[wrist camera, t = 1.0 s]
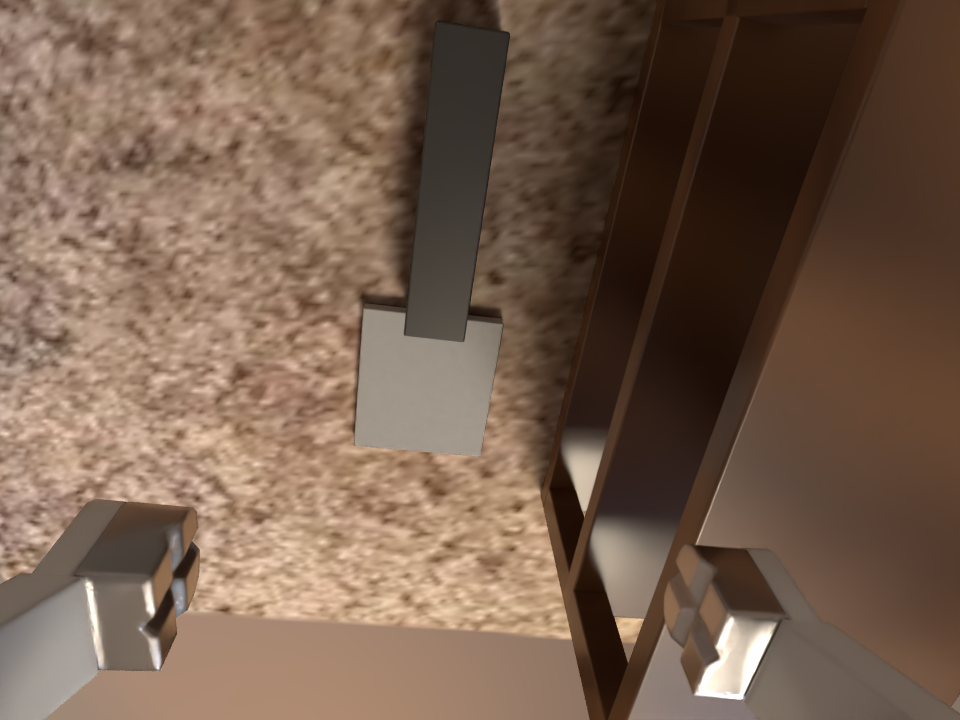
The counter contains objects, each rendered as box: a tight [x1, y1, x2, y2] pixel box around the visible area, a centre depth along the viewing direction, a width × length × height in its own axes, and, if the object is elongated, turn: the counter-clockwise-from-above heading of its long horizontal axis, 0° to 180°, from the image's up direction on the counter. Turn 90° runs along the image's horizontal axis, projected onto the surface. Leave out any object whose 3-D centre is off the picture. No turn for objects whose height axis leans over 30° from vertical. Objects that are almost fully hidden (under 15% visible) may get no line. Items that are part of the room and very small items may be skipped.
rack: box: [541, 0, 960, 720], centre depth 22 cm, size 23×10×14 cm, turn 172°
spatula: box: [354, 20, 510, 457], centre depth 25 cm, size 18×6×3 cm, turn 172°
